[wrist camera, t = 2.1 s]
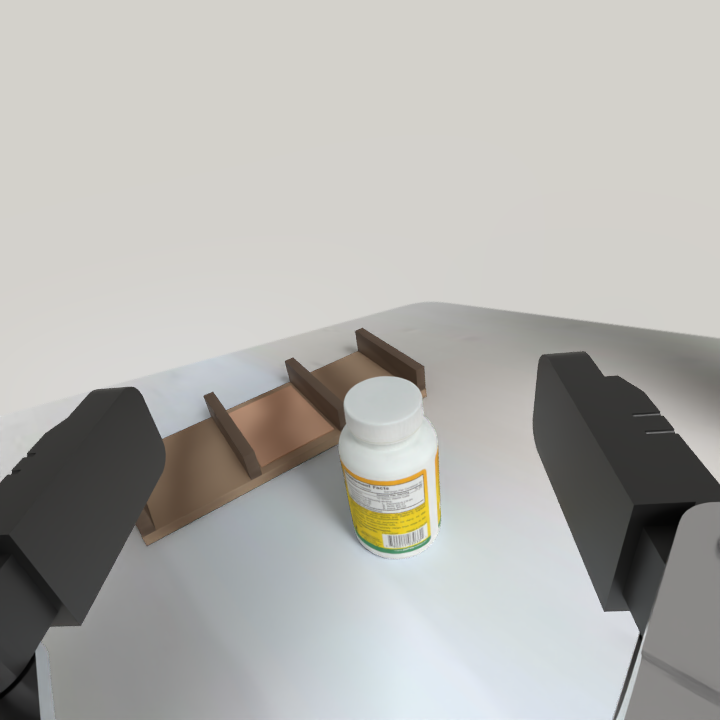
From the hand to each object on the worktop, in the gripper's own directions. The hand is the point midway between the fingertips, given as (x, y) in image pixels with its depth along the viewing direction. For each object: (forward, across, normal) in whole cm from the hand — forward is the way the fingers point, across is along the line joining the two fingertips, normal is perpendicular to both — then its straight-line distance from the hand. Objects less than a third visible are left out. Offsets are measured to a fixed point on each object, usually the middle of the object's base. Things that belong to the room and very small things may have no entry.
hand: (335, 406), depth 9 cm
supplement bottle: (+12, 0, +18) cm, 21 cm away
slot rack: (+21, +9, +18) cm, 29 cm away
